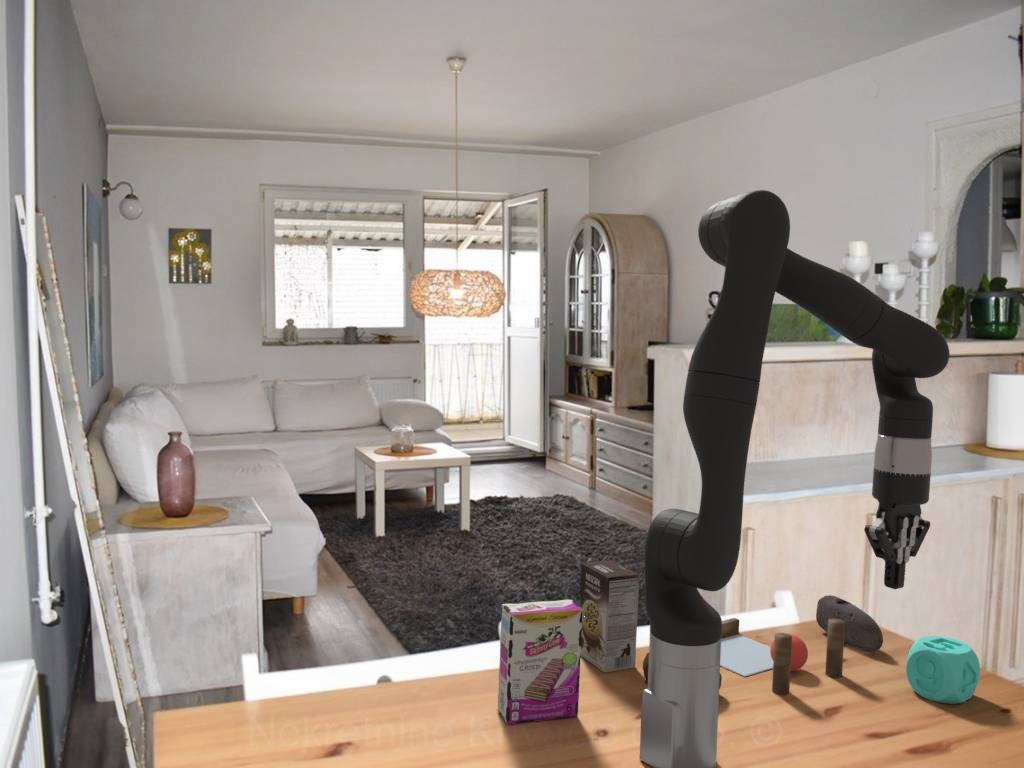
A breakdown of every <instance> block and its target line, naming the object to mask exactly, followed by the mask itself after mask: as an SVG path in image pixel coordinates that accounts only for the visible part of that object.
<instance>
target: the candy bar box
mask: <svg viewBox="0 0 1024 768" xmlns="http://www.w3.org/2000/svg"><path fill="white" fill-rule="evenodd" d="M500 610H501V611H500V613H501V614H500V619H501V620H500V636H499V638H500V641H499V642H500V643H499V644H500V645H499V666H498V668H499V669H498V670H499V671H498V695H497V696H498V697H497V699H498V700H497V712H498V713H499V715H500V716H501V717H502V719H503V721H504V723H506V725H515V724H516V725H517V724H524V723H533V722H541V721H542V722H543V721H550V720H558V719H566V718H569V719H570V718H576V717H577V718H578V715H579V701H580V700H579V699H580V674H581V633H582V611H583V610H582V609H581V608H580V605H578V604H577V603H575V602H574V600H572V599H560V600H559V599H558V600H557V599H556V600H544V601H531V602H530V601H527V602H512V603H502V604H501V609H500Z"/></svg>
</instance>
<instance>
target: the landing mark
mask: <svg viewBox="0 0 1024 768" xmlns="http://www.w3.org/2000/svg"><path fill="white" fill-rule="evenodd" d="M770 648H771V646H770V645H767V644H764V643H762V642H759V641H757V640H754V639H751V638H750V637H746V636H744V635H742V634H739V633H737V634H733V635H729V636H725V637H722V638H721V656H720V667H721V666H722V667H721V668H723V667H724V668H723V669H726V670H728V671H731V672H733V673H734V672H735V674H737V675H739V674H740V675H739V676H741V675H742V677H743V676H744V677H743V678H745V677H748V676H749V677H750V676H752V675H755V674H759V673H762V672H767V671H769V670H773V660H772V658H771V654H770Z"/></svg>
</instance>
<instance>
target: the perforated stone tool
mask: <svg viewBox="0 0 1024 768" xmlns="http://www.w3.org/2000/svg"><path fill="white" fill-rule="evenodd" d="M815 619H816V623H817V625H818V626H819V627H820V629H822V630H823V631H825V632H826V634H828V620H829V619H839V620H843V621H844V622H845V631H844V644H845V643H846V644H848V645H851V646H852V647H854V648H855V647H856V648H857V649H859V650H860V649H861V650H863V651H868V652H876V651H878V650H880V649H881V648H882V646H883V644H884V636H883V633H882V629H881V627H880V626H879V624H878V623H877V622H876V621H875V620H874V618H873V617H872V616H870V615H869V614H868V613H867V612H866V611H863V610H862V609H860V608H859V607H858V606H856V605H855V604H853V603H851V602H849V601H847V600H845V599H843V598H840V597H839V596H835V595H824V596H823V597H821V598H819V599H818V600H817V607H816V612H815Z"/></svg>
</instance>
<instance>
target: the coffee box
mask: <svg viewBox="0 0 1024 768" xmlns="http://www.w3.org/2000/svg"><path fill="white" fill-rule="evenodd" d="M579 588H580V589H579V590H580V593H579V595H580V597H579V607H580V608H581V609H582V610H583V611H582V633H581V655H580V657H582V658H584V659H585V660H587V661H588V662H589V663H590V664H592V665H593V666H595V667H596V668H597V669H598V670H600V671H601V670H602V671H601V672H603V673H611V671H612V672H617V671H616V670H618V671H622V670H621V669H624V670H629V668H630V669H635V668H636V659H637V658H636V656H637V655H636V653H637V650H636V649H637V634H638V633H637V630H638V611H639V609H638V608H639V591H640V590H639V589H640V573H637V572H635V571H633V570H631V569H629V568H627V567H626V566H623V565H622V564H619V563H618V562H615V561H614V560H613V559H610V560H595V561H587V562H582V563H580V586H579ZM584 616H585V617H584ZM634 667H635V668H634Z"/></svg>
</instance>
